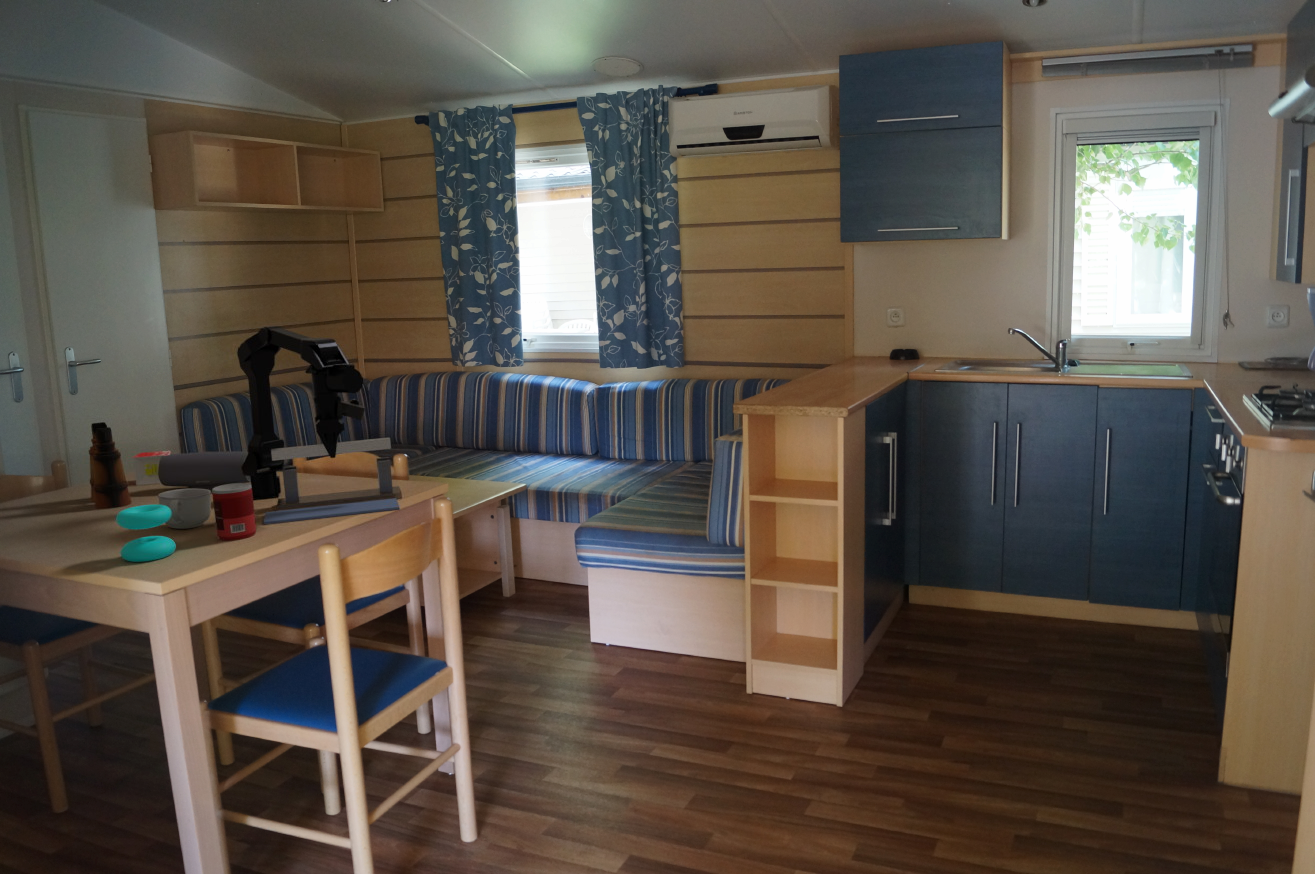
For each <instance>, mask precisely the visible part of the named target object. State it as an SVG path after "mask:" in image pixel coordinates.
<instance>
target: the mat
mask: <svg viewBox="0 0 1315 874" xmlns="http://www.w3.org/2000/svg"><path fill="white" fill-rule="evenodd" d="M400 509H401V508H400V505H399V501H398V500H397V499H396V498H394V499H385V500H376V501H366V502H357V503H348V504H339V505H329V506H320V507H311V508H302V509H292V510H283V511H277V510H276V511H266V512H265V515H264V518H263V525H271V524H273V525H274V524H281V523H282V524H283V523H290V522H299V521H308V520H309V521H310V520H317V519H326V518H336V517H344V516H353V515H361V514H362V515H363V514H371V513H381V512H389V511H397V510H398V511H399V510H400Z"/></svg>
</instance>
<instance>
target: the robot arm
mask: <svg viewBox="0 0 1315 874" xmlns="http://www.w3.org/2000/svg"><path fill="white" fill-rule="evenodd" d="M337 343H338V342H337V341H336V340H335V339H334V338H330V337H329V338H328V337H310V336H307V335H304V334H300V333H298V332H294V331H291V330H288V329H285V328H284V327H282V326H279V325H273V326H264V327H262V328H260V329H259V330H258V331H257V333H255V334H253V335H252V336H250V337H248V338H247V339H245V340H244V341H243V342H242V343H241V344H240V346H239V347H238V348H237V350H236V354H237V358H238V363H239V367H240V369H241V370H242V371H243V373H244V374H245V375H246V377H247V381H248V389H249V390H248V391H249V401H250V410H251V421H252V429H253V430H252V431H253V435H252V437H251V438H250V441H249V442H248V445H247V452H248V456H247V458H246V460H245V461H244V463H243V465H242V467H241V469H242V472H243V475H247V476H250V480H251V482H250V484H251V487H252V494H253V500H260V499H269V498H277V497H280V494H281V493H282V486H281V485H282V484H281V477H280V475H278V472H279V471H283V467H285V466H284V464H285V459H284V460H275V461H272V454H271V449H278V448H285V441H284V439H283V438H281V439H280V437H279V436H278V435H277V434H276V432H275V422H274V421H275V420H274V413H273V411H274V410H273V403H272V393H271V392H272V391H271V380H270V379H271V378H270V375H271V374H272V372H273V369H274V368H275V364H276V356H277V355H278V353H279V352H280V351H281V349H283V350H287V351H290V352H293V353H296V354H298V355H299V356H300V358H301V360H303V361H304V362H306V363H307V364H309V366H308V367H307V368H306V370H305V371H304V372H305V374H310V375H311V382H312V383H311V384H312V385H311V386H312V394H313V402H314V412H315V415H314V421H315V423H314V424H315V430H316V434H317V436H318V437H319V439H320V441H321V444H323V445H324V446H325V448H326V450H327V452H328V454H329V455H328V456H329V458H330V459H335V458H337V457H336V456H337V454H336V447H337V443H338V439H339V435H340V434H342V433H343V431H345V422H344V420H343V418H344V417H348V418H352V419H355V420H357V421H361V422H362V421H363V419H364V415H365V412H366V408H367V407H365V406H363V405H360V402H359V400H358V399H355V398H351V399H350V400H349V401H344V400H343V401H342V397H341V395H340V394H357V393H359V392H360V391H361V389H362V387H363V384H364V377H363V375H362V374H361V372H360V371H359V370H358V369H356V368H355V363H349V360H348V359H347V357H346V356H345V354H344V353H343V351H342V349H341V348H340V347H339V346H340V345H338V344H337Z"/></svg>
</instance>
